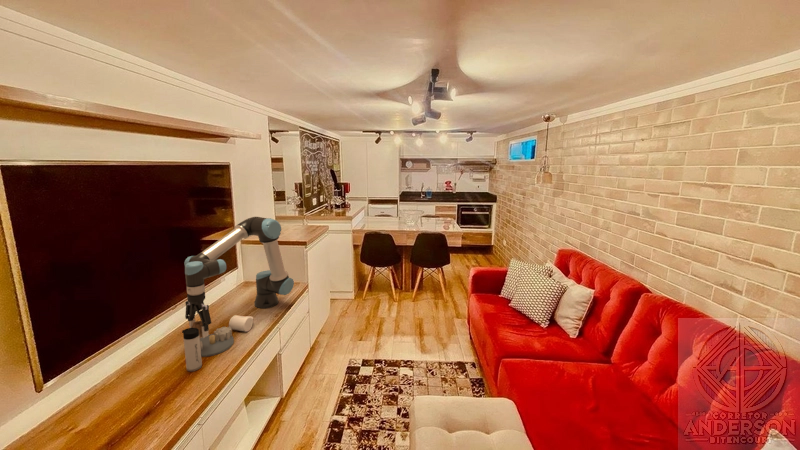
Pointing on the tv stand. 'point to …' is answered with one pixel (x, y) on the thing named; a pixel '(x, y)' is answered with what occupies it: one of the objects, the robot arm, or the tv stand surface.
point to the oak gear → (199, 327)
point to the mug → (241, 323)
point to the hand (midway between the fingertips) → (199, 334)
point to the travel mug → (192, 349)
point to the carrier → (216, 342)
